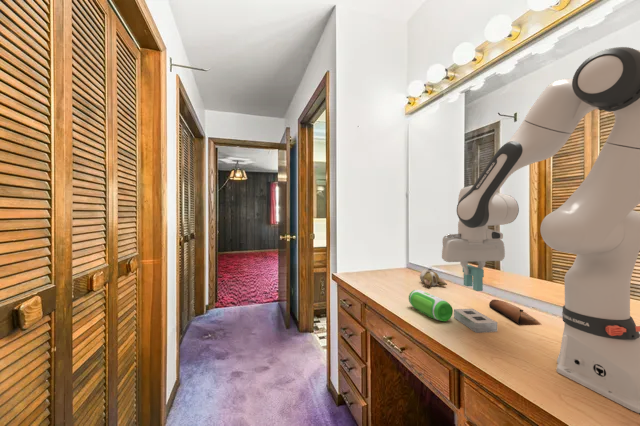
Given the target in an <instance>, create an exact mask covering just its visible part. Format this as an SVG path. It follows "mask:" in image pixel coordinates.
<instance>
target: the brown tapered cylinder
mask: <svg viewBox="0 0 640 426" xmlns="http://www.w3.org/2000/svg"><path fill="white" fill-rule="evenodd" d="M488 305H489V307H490V308H491V309H494V310H496V311H498V312H499V313H501V314H502V315H505V316H506V317H508V318H509V319H511V320H512V321H514V322H515V323H517V324H519V326H542V323H541V322H540V321H538V320H537V319H536V318H534V317H533V316H532V315H530V314H528V313H526V312H525V311H524V309H521V307H518V306H516V305H515V304H511V303H509V302H507V301H504V300H499V299H491V300H490V301H489V303H488Z"/></svg>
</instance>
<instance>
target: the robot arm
mask: <svg viewBox="0 0 640 426" xmlns="http://www.w3.org/2000/svg"><path fill="white" fill-rule="evenodd" d="M594 110H598V111H599V110H600V111H605V112H608V113H612V114H613V115H614V124H613V126H612V128H611V130H610V133H609V134H608V137H607V138H606V139H605V140H606V141H605V142H604V144H603V147H602V148H601V150H600V152H599V153H598V156H597V157H596V159H595V161H594V163H593V166H592V167H591V169H590V171H589V172H588V174H587V176H586V177H585V179H584V180H582V183H581V184H580V185H579V186H578V187H577V188H576V190H574V191H573V193H572V194H571V195H570V196H569V197H568V198H567V199H566V201H564V203H562V204H561V205H560V206H559V207H557V208H556V209H555V210H553V211H552V212H550V213H549V214H547V215H545V216H544V218H543V219H542V221H541V223H540V228H539V230H540V235H541V236H540V237H542V240H543V241H544V243H545V244H546V245H547V246H548V247H550V248H551V249H553V250H555V251H558V252H561V253H567V254H573V255H576V257H575V259H574V261H573V263H572V266H571V267H570V268H569V269H568V270H567V271H566V272H565V275H564V280H563V281H564V304H563V306H562V311H561V315H562V321H563V323H564V327H563V332H562V337H561V345H560V351H559V354H558V357H557V359H556V362H557V365H556V369H555V370H556V372H557V373H558V374H560V375H562V376H564V377H566V378H568V379H570V380H571V381H574V382H576V383H577V384H579V385H581V386H583V387H585V388H588V390H592V391H594V392H595V393H596V394H597V393H598V394H600V395H601V396H604V397H605V398H607V399H608V400H611V401H612V402H614V403H617V404H618V405H621V406H623V407H625V408H627V409H629V410H630V411H632V412H634V413H637V414H640V325H639V326H638V325H636V323H635V321H634V319H633V317H632V316H631V281H632V276H633V273H634V269H635V266H636V263H637V259H638V258H639V257H638V256H639V254H640V212H639V211H636V210H634V209H636V207H638V205H640V50H639V49H634V48H632V47H629V46H628V47H627V46H620V47H619V46H617V47H612V48H611V47H610V48H607V49H606V48H605V49H604V50H601V51H598V52H597V53H595V54H593V55H591V56H589V57H588V58H587V59H585V60H584V61H583V62H582V63H581V64H580V65H579V66H578V68H577V69H576V70H575V73H574V75H573V77H572V78H563V79H557V80H555V81H552V82H551V83H550V84H548V86H546V88H545V89H543V91H542V92H541V94H540V95H539V97H537V99H536V100H535V102H534V103H533V105H532V106H531V107H530V109H529V110H528V112H527V113H526V115H525V117H524V119H523V121H522V123H521V124H520V126H519V127H518V129H517V130H516V131H515V133H514V134H513V135H512V136H511V137H510V138H509V140H508V141H507V142H506V143H505V144H503V145H501V147H500V148H499V149H498V150H497V151H496V153H495V154H494V155H493V156H492V158H491V159H490V160H489V162H488V163H487V165H486V166H485V168H484V169H483V171H482V172H481V174H480V175H479V176H478V178H477V179H476V181H475V182H474V184H473V185H471V184H470V185H467V186H464V187H463V188H461V189H460V191H459V192H458V193H459V194H458V200H457V205H456V215H457V218H458V221H457V222H458V223H457V233H454V234H453V233H448V234H446V235H444V236H443V237H442V250H441V259H442V260H443V261H444V262H447V263H459V264H460V265H461V268H462V270H463V269H464V272H463V275H464V274H465V275H471V270H470V269H468V268H467V266H466V265H469V263H470V262H477V264H478V265H477V266H476V267H477V268H480V269H483V270H484V268H485V266H486V262H499V261H501V262H502V261H504V259H505V255H506V251H505V244H504V243H505V242H504V241H503V240H502V239H504V233H502V232H501V231H497V230H493V229H490V228H489V227H492V226H502V225H503V226H505V225H508V224H512V223H513V222H514V221H515V220H516V219H517V217H518V215H519V212H520V210H519V209H520V207H519V203H518V201H517V200H516V199H515V197H513V196H512V195H508V194H504V193H501V192H499V191H500V189H501V188H502V186H503V185H504V184H505V183H506V181H507V180H508V178H509V177H510V176H511V175H512V174H513V173H515V172H516V171H518V170H520V169H522V168H525V167H527V166H529V165H531V164H535V163H540V162H541V161H546V160H548V159H550V158H552V157H554V156H555V155H557V153H558V152H559V151H560V150H562V148H563V147H564V146H565V144H566V143H567V142H568V140H569V139H570V137H571V136H572V134H573V133H574V131H575V129H576V128H577V127H578V125H579V124H580V122H581V121H582V119H583V118H584V117H585V116H586V115H587V114H589V113H590V112H592V111H594Z"/></svg>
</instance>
